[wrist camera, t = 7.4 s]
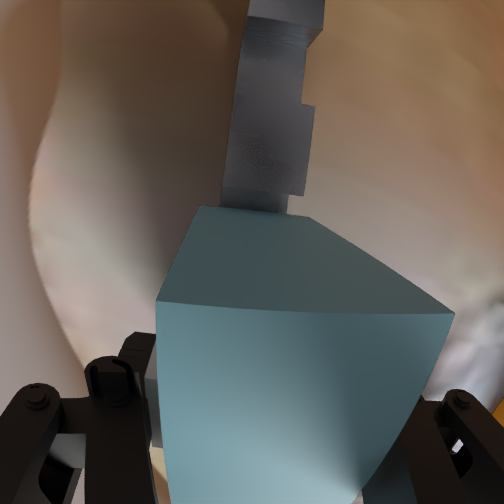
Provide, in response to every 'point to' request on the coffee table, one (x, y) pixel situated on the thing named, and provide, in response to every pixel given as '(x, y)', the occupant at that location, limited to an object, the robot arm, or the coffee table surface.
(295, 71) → the rail
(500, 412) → the orange juice
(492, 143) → the coffee table surface
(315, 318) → the block
